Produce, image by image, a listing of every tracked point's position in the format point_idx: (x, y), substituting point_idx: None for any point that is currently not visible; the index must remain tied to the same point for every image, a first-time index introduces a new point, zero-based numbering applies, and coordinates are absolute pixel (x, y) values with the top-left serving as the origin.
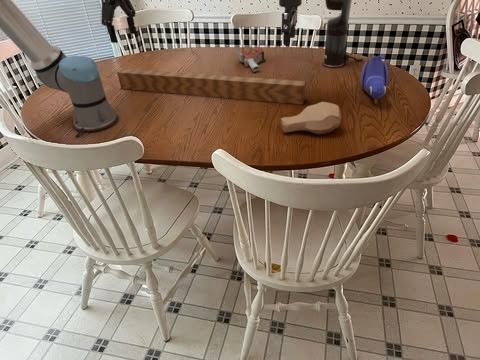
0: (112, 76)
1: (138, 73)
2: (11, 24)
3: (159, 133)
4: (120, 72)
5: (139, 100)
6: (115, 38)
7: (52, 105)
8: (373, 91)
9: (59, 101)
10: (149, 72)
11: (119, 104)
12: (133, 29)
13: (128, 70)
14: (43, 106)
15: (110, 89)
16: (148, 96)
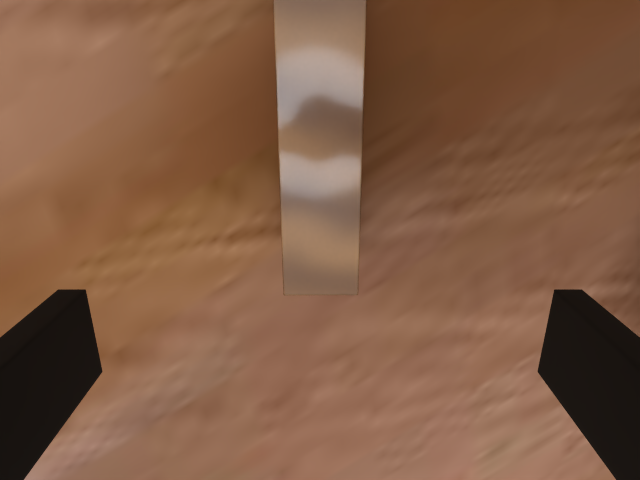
0: (195, 396)
1: (354, 121)
2: None
3: None
4: (357, 269)
5: (497, 37)
6: (616, 327)
7: (578, 440)
8: None
9: (534, 440)
10: (317, 35)
11: (560, 132)
12: (53, 340)
13: (307, 237)
14: (589, 466)
15: (365, 304)
16: (431, 9)
